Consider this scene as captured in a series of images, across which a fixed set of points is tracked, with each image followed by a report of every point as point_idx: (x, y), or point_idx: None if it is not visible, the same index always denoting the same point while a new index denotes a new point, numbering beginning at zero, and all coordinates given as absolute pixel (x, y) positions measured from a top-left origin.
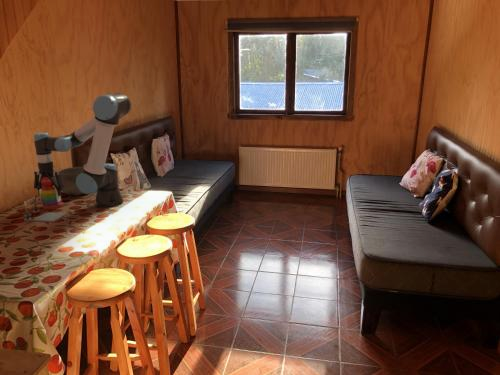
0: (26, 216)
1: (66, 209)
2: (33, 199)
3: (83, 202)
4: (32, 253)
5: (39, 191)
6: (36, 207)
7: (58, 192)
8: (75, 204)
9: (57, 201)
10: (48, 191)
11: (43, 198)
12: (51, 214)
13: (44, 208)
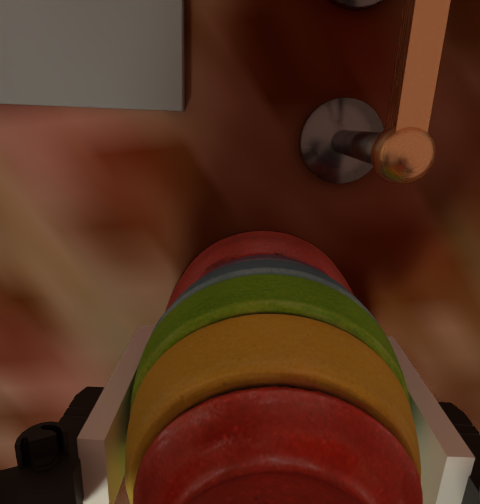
0: None
1: (52, 262)
2: (392, 105)
3: None
4: None
5: (452, 434)
6: (341, 142)
7: (78, 427)
8: None
9: (147, 329)
10: (195, 369)
11: (295, 277)
12: (64, 28)
13: (292, 237)
